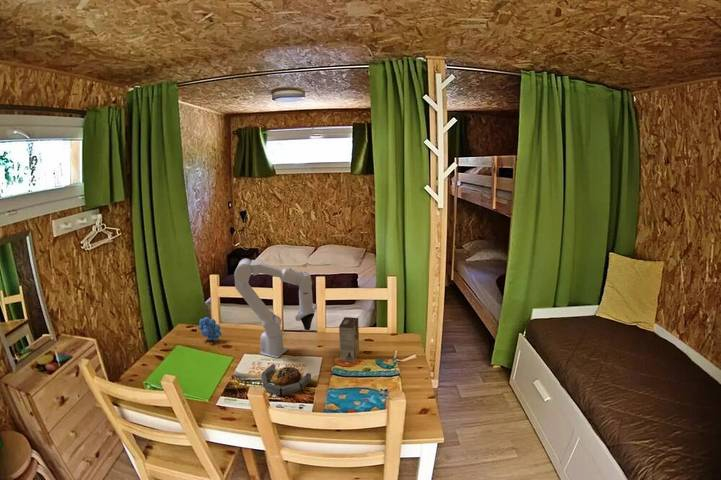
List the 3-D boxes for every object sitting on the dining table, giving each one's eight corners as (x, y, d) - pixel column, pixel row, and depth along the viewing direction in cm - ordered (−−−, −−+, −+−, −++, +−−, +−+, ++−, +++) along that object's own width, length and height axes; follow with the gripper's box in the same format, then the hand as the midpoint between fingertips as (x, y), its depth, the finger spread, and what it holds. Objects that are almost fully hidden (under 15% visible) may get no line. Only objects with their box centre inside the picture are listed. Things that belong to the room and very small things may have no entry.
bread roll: (299, 387, 129) (296, 374, 128) (269, 391, 129) (267, 379, 129) (303, 370, 140) (301, 359, 139) (276, 375, 140) (274, 363, 140)
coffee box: (345, 349, 155) (344, 316, 151) (359, 351, 153) (358, 317, 150) (339, 361, 146) (338, 325, 143) (354, 362, 145) (354, 327, 141)
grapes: (194, 343, 162) (191, 320, 160) (203, 336, 169) (201, 313, 166) (216, 346, 160) (213, 322, 157) (225, 339, 166) (222, 315, 163)
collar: (252, 387, 129) (251, 381, 129) (272, 369, 140) (272, 364, 140) (293, 399, 123) (293, 392, 122) (311, 379, 134) (310, 373, 133)
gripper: (305, 308, 143) (306, 338, 146) (322, 295, 156) (323, 323, 159) (290, 305, 146) (292, 335, 149) (308, 293, 159) (309, 321, 162)
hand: (307, 329), depth 154 cm, fingers closed
